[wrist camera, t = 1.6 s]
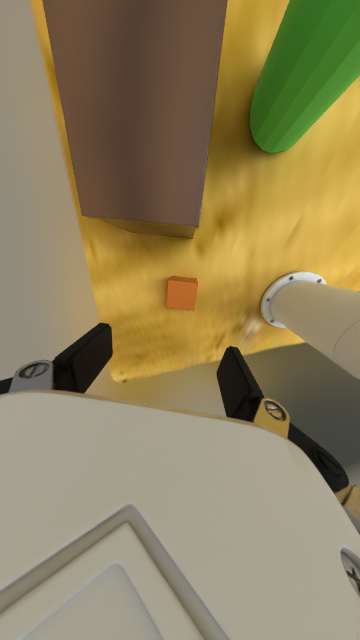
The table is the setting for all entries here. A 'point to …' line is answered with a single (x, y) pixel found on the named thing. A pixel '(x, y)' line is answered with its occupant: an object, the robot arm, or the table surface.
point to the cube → (181, 293)
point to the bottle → (305, 70)
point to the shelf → (138, 105)
